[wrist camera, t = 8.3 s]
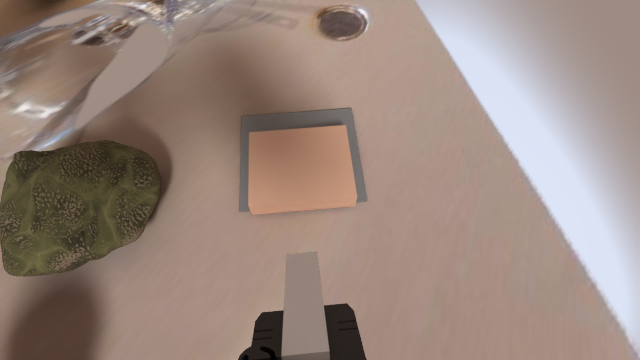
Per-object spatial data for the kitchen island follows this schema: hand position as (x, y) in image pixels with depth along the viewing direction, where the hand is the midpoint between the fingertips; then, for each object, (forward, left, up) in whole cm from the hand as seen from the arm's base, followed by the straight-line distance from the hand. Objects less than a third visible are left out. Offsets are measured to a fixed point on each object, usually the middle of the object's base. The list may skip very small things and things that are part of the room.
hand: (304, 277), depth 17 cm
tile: (-11, +6, -18) cm, 22 cm away
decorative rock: (-24, -13, -20) cm, 34 cm away
